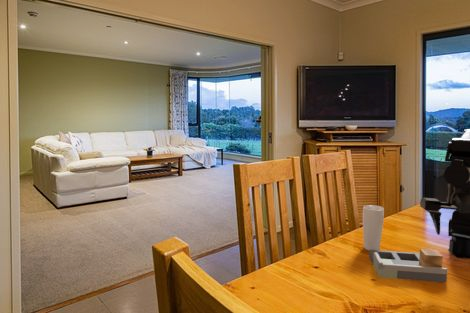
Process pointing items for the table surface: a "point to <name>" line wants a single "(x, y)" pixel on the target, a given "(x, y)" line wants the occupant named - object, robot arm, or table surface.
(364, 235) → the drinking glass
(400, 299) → the table surface
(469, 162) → the robot arm
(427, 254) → the ochre block
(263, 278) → the table surface
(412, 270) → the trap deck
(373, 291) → the table surface
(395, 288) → the table surface
